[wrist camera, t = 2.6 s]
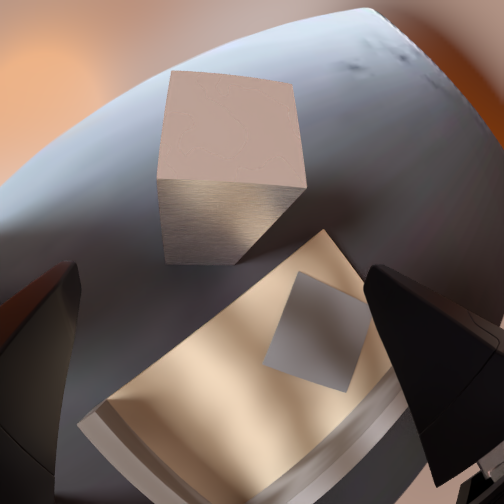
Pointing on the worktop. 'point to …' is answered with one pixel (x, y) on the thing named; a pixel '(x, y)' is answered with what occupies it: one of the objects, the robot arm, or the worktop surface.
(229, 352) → the corner arena
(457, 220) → the worktop surface
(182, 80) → the aluminium post
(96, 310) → the worktop surface
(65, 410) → the worktop surface
